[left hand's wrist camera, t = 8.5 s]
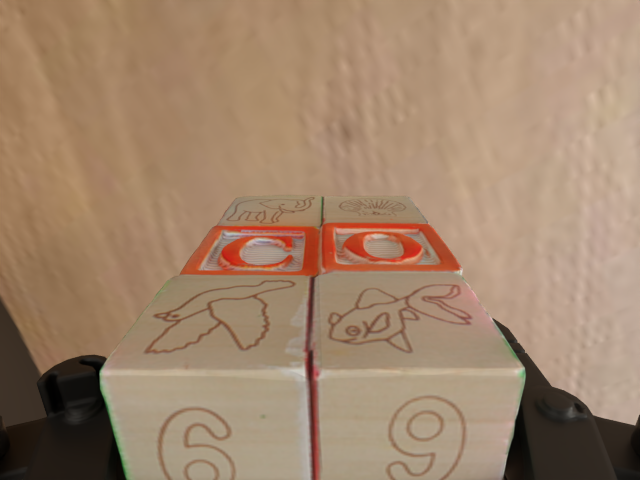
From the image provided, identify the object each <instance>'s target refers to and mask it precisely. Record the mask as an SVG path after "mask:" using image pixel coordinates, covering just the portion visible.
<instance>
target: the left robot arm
mask: <svg viewBox="0 0 640 480" xmlns="http://www.w3.org/2000/svg"><path fill="white" fill-rule="evenodd" d="M492 320H493V321H494V322H495V324H496V325H497V326H498V328H499V329H500V331H501V332H502V334H503V335H504V337H505V338H506V340H507V342H508V343H509V345H510V346H511V348H512V349H513V351H514V353H515V354H516V356H517V357H518V359H519V360H520V362H521V363H522V364H523V366H524V367H525V373H526V378H525V384H524V388H523V392H522V397H521V401H520V405H519V410H518V413H517V416H516V419H515V426H514V435H513V438H512V441H511V445H510V448H509V452H508V456H507V460H506V465H505V471H504V476H503V480H640V415H639V417H638V420H637V423H636V425H635V426H634V425H630V424H626V423H621V422H617V421H613V420H608V419H604V418H600V417H597V416H594V415H592V413H591V412H590V410H589V409H588V407H587V406H586V405H585V404H584V403H583V402H582V401H580V400H579V399H578V398H577V397H575V396H573V395H571V394H570V393H568V392H566V391H564V390H561V389H558V388H554V387H552V386H551V385H550V384H549V382H548V381H547V380H546V378H545V377H544V376H543V374H542V373H541V372H540V370H539V369H538V368H537V366H536V365H535V364H534V362H533V361H532V360H531V358H530V357H529V356H528V354H527V353H525V350H524V349H523V348H522V346H521V345H520V344H519V343H517V340H516V338H515V337H514V336H513V334H512V333H511V332H510V330H509V329H508V328H507V327H505V326H504V325H502V324H501V323H499V322H498V321H496V320H495V319H494V318H492ZM106 360H107V358H105V357H103V356H98V355H85V356H79V357H75V358H72V359H68V360H66V361H64V362H62V363H59V364H57V365H55V366H54V367H52V368H51V369H50V370H48V371H47V372H46V373H44V374H43V375H42V377H41V378H40V379H39V381H38V382H37V386H38V389H39V392H40V395H41V398H42V401H43V404H44V408H45V411H46V414H47V417H46V418H42V419H39V420H35V421H31V422H26V423H22V424H17V425H13V426H9V427H5V424H4V422H3V419H2V417H1V416H0V480H126V478H125V475H124V471H123V467H122V462H121V458H120V454H119V451H118V447H117V444H116V440H115V437H114V433H113V430H112V426H111V422H110V419H109V415H108V411H107V408H106V404H105V401H104V398H103V395H102V393H101V390H100V370H101V368H102V366H103V365H104V363H105V362H106Z"/></svg>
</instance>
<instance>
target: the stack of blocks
mask: <svg viewBox="0 0 640 480" xmlns="http://www.w3.org/2000/svg"><path fill="white" fill-rule="evenodd" d="M462 270H463V269H462V267H461V265H460V264H459V262H458V261H457V259H456V258H455V257H454V255H453V254H452V253H451V251H450V250H449V248H448V247H447V246H446V244H445V243H444V242H443V240H442V239H441V238H440V236H439V235H438V234H437V232H436V231H435V230H434V228H433V227H432V226H430V225H429V224H428V222H427V220H426V219H425V217H424V216H423V215H422V214H421V213H420V211H419V210H418V208H417V207H416V206H415V205H414V203H413V202H412V201H411V199H410V198H409V197H407V196H327V197H321V196H299V195H282V196H249V197H239V198H236V199H235V200H234V201H233V203H232V204H231V205H230V206H229V208H228V209H227V210H226V212H225V213H224V215H223V217H222V218H221V219H220V221H219V223H218V224H217V226H215V227H213V228H212V229H211V230H210V231H209V233H208V234H207V236H206V237H205V238H204V240H203V241H202V243H201V244H200V246H199V247H198V248H197V250H196V251H195V252H194V253H193V255H192V256H191V257H190V259H189V260H188V262H187V263H186V265H185V266H184V268H183V269H182V271H181V273H180V275H179V276H175V277H173V278H171V279H169V280H168V281H167V282H166V283H165V285H164V286H163V287H162V289H161V290H160V291H159V292H158V293H157V294H156V296H155V298H154V299H153V301H152V302H151V303H150V304H149V305H148V306H147V308H146V309H145V310H144V312H143V313H142V314H141V315H140V317H139V318H138V319H137V321H136V322H135V324H134V325H133V326H132V328H131V329H130V330H129V332H128V333H127V334H126V335H125V337H124V338H123V339H122V341H121V342H120V343H119V345H118V346H117V347H116V348H115V350H114V351H113V352H112V353H111V355H110V356H109V357H108V359H107V360H106V362H105V363H104V365H103V366H102V368H101V370H100V390H101V393H102V395H103V398H104V401H105V404H106V408H107V411H108V415H109V419H110V422H111V426H112V430H113V433H114V437H115V440H116V444H117V447H118V451H119V454H120V458H121V462H122V467H123V471H124V475H125V478H126V480H503V476H504V471H505V465H506V460H507V456H508V452H509V448H510V445H511V441H512V438H513V435H514V426H515V419H516V416H517V413H518V410H519V405H520V401H521V397H522V392H523V388H524V384H525V378H526V373H525V367H524V366H523V364H522V363H521V362H520V360H519V359H518V357H517V356H516V354H515V353H514V351H513V349H512V348H511V346H510V345H509V343H508V342H507V340H506V338H505V337H504V335H503V334H502V332H501V331H500V329H499V328H498V326H497V325H496V324H495V322H494V321H493V320H492V318H491V317H490V316H489V314H488V313H487V311H486V310H485V309H484V307H483V306H482V305H481V303H480V302H479V300H478V298H477V297H476V295H475V293H474V292H473V290H472V289H471V288H470V286H469V285H468V284H467V283H466V281H465V280H464V278H463V277H462Z"/></svg>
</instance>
